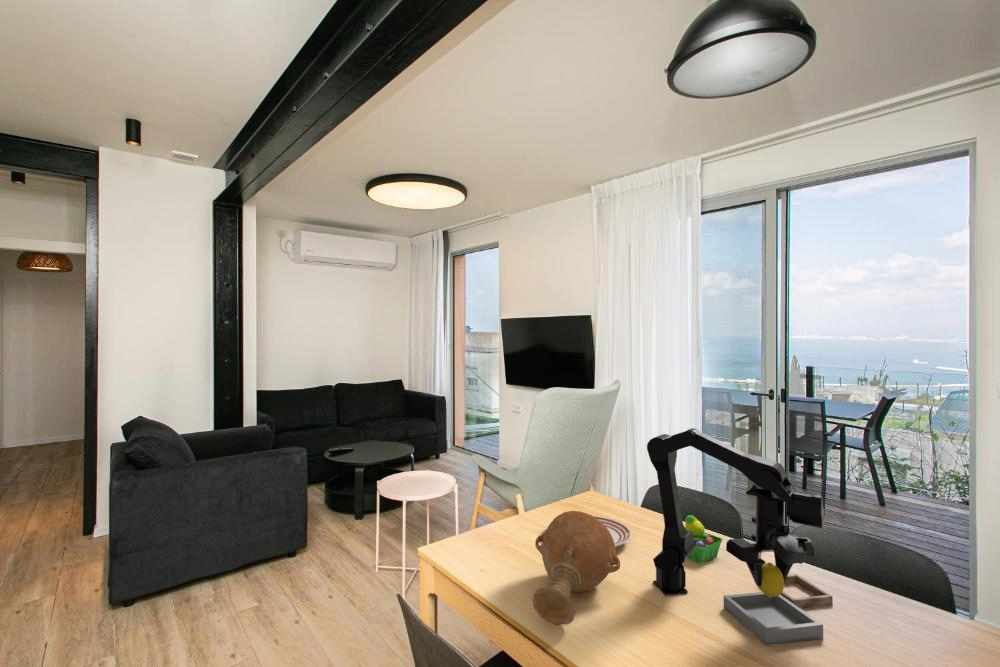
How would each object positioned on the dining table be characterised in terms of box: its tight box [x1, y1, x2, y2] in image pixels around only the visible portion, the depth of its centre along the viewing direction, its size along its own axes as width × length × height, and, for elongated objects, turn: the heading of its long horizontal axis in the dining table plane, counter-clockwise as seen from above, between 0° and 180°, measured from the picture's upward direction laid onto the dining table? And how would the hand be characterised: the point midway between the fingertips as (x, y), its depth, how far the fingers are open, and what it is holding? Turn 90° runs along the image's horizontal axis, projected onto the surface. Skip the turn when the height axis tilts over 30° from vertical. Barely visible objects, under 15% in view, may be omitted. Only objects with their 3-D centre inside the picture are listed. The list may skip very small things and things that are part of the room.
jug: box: [531, 510, 621, 626], centre depth 117 cm, size 20×19×30 cm
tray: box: [723, 591, 824, 646], centre depth 106 cm, size 14×14×3 cm
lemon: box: [758, 562, 785, 598], centre depth 106 cm, size 6×6×8 cm
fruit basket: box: [684, 514, 723, 564], centre depth 140 cm, size 11×9×11 cm
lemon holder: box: [780, 573, 834, 609], centre depth 118 cm, size 11×11×2 cm
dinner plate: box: [545, 515, 633, 548], centre depth 152 cm, size 27×27×3 cm
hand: (769, 584), depth 106 cm, fingers closed on lemon, 6 cm apart
